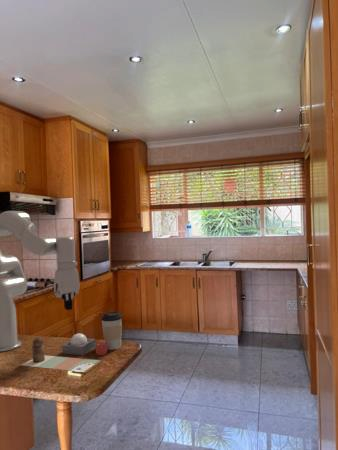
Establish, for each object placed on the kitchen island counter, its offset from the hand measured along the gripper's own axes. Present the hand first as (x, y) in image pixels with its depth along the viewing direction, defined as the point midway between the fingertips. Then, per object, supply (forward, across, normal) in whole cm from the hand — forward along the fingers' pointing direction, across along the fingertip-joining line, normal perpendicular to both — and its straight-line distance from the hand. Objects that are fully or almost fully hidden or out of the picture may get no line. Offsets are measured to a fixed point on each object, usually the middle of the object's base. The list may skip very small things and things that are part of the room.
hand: (68, 309), depth 149 cm
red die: (+19, -7, +12) cm, 23 cm away
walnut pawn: (+18, +13, -3) cm, 23 cm away
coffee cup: (+19, -15, +10) cm, 26 cm away
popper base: (+19, -4, +1) cm, 19 cm away
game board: (+19, +9, +7) cm, 22 cm away
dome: (+18, -4, +1) cm, 19 cm away
